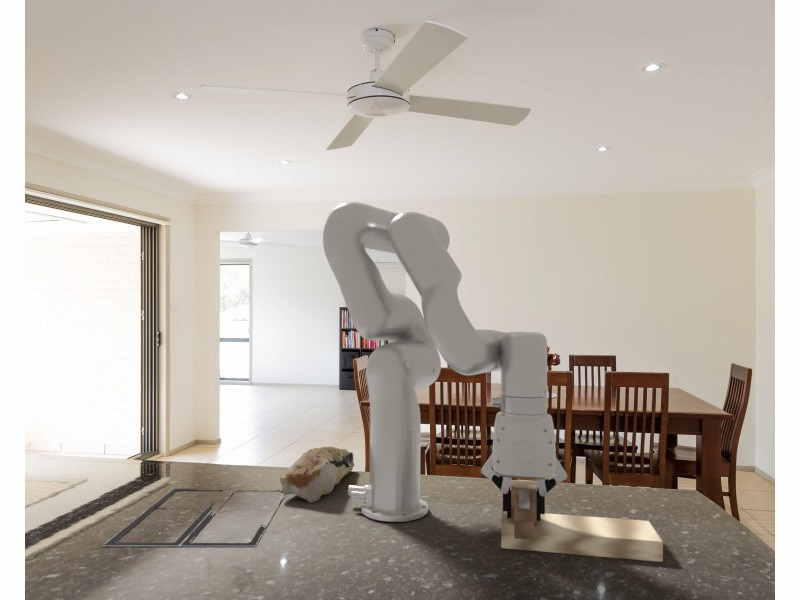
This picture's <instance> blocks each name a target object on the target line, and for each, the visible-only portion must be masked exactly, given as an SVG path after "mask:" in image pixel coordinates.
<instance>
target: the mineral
mask: <svg viewBox="0 0 800 600" xmlns="http://www.w3.org/2000/svg"><path fill="white" fill-rule="evenodd" d="M354 466H355V463H354V454H353V452H352V451H351V452H350V451H348V450H347V449H346V448H338V447H335V446H322V447H314V448H311V449H309V450H307V451H305V452H303V453H302V454H301V456H300V457H299V458H298V459H297V460H296V461H295V462H294V463H293V464H292V465H290V467H288V468H287V470H286V471H285V473H284V475H283V476H281V477H279V478H280V480H279V481H280V482H279V483H280V484H281V487H282V488H281V489H282V490H281V492H280V493H283V494H284V495H285V496H286V495H296V496H297V497H299V498H301V499H304V500H306V501H307V502H309V503H310V502H311V503H315V502H317V501H319V500H320V498H321V496H326V495H328V494H331V493H332V492H333V490H334V487H335V486H336V485H339V483H340V482H341V480H342V479H343V478H344V477H345V476H347V475H348V474H349V473H350V472H351V471H353V470H354Z"/></svg>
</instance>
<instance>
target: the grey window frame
mask: <svg viewBox="0 0 800 600" xmlns="http://www.w3.org/2000/svg"><path fill="white" fill-rule="evenodd" d="M198 489H200V490H201V489H202V488H182V487H181V488H178V487H177V488H176V487H175V488H172V489H171V490H170V491H169V492H168V493H166V494H165V495H164V496H162V497H161V498H160V499H158V501H156V502H155V503H154V504H152V505H151V506H150V507H149V508H147V509H146V510H145V511H144V512H142V513H141V514H140V515H139V516H137V517H136V518H135V519H134V520H132V522H130V523H129V524H127V525H126V526H125V527H124V528H122V529H120V531H119V532H117V533H116V534H115V535H113V537H111V538H110V539H109V540H107V541H106V542H105V543H104V544H103V545H101V547H102V548H257V546H258V544H259V542H260V541H261V539H262V538H263V535H264V534H265V532H266V530H264V529H265V528H266V527H265V526H264V527H265V528H264V527H262V526H263V525H262V526H261V525H260V526H261V527H260V526H259V527H258V529H257V531H256V532H255V534H254V536H253V537H252V539H251V541H250V542H193V541H194V540H195V539H196V537H197V536H199V534H200V533H201V532H200V531H203V529H204V528H205V527H206V526H207V525H208V524H209V522H210V521H211V520H212V519H213V518H214V517H213V516H212V515H211V513H212V512H211V511H213V510H212V508H213V507H212V505H213V504H212V503H211V504H212V505H210V506H209V507H206V508H205V510H203V511H204V512H203V513H202V514H201V513H200V515H199V516H198V517H197V519H195V520H194V522H193V523H191V525H190V526H189V527H188V528H187V529H186V530H185V531H184V532H183V533H182V534H181V535H180V537H178V538H177V539H176V541H174V542H118V541H119V540H120V539H121V538H123V537H124V536H125V535H127V534H128V533H129V532H130V531H131V530H132V529H134V528H135V527H136V526H137V525H139V523H141V522H142V521H143V520H145V519H146V518H147V517H148V516H149V515H151V514H152V513H153V512H154V511H156V510H168V509H167V508H168V507H160V506H161V505H163V504H164V503H165V502H166V501H168V500H169V499H170V498H171V497H173V495H175V494H176V493H177V492H176V491H178V492H198V491H197V490H198ZM189 490H190V491H189ZM192 490H193V491H192ZM194 490H196V491H194ZM175 492H176V493H175ZM174 493H175V494H174ZM169 497H170V498H169ZM168 498H169V499H168ZM162 503H163V504H162ZM211 507H212V508H211ZM156 508H157V509H156ZM151 512H152V513H151ZM209 514H210V515H209ZM212 514H213V513H212ZM145 517H146V518H145ZM212 517H213V518H212ZM211 518H212V519H211ZM210 519H211V520H210ZM209 520H210V521H209ZM207 523H208V524H207ZM206 524H207V525H206ZM205 525H206V526H205ZM266 529H267V528H266ZM264 531H265V532H264ZM199 532H200V533H199ZM263 533H264V534H263ZM260 538H261V539H260ZM259 540H260V541H259Z"/></svg>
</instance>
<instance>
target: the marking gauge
mask: <svg viewBox="0 0 800 600" xmlns="http://www.w3.org/2000/svg"><path fill="white" fill-rule="evenodd" d="M510 486H511V487H510V490H511V523H514V538H515V539H527V540H534V525H537V493H536V492H537V487H536V484H527V483H526V484H525V483H513V482H512V483H511V482H510Z"/></svg>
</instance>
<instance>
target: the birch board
mask: <svg viewBox="0 0 800 600" xmlns="http://www.w3.org/2000/svg"><path fill="white" fill-rule="evenodd" d="M501 512H502V513H501V528H500V530H501V533H500V534H501V535H500V541H501V542H500V544H501V545H500V547H501V549H509V550H511V549H512V550H520V551H521V550H523V551H534V552H544V553H545V552H546V553H555V554H556V553H557V554H565V555H566V554H567V555H568V554H569V555H580V556H588V557H589V556H590V557H601V558H603V557H604V558H612V559H623V560H624V559H626V560H636V561H645V562H646V561H648V562H659V563H663V562H664V547H663V546H664V542H663V540H662V539H661V537H660V536H659V534H658V532H657V531H656V530H655V528H654V527H653V525H652V523H651V522H650V521H649V520H642V519H628V518H627V519H626V518H613V517H612V518H611V517H601V516H587V515H574V514H559V513H547V512H545V514H541V521H537V525H534V540H527V539H515V538H514V523H511V518H510V519H507V512H506V511H503V509H502V510H501Z"/></svg>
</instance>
